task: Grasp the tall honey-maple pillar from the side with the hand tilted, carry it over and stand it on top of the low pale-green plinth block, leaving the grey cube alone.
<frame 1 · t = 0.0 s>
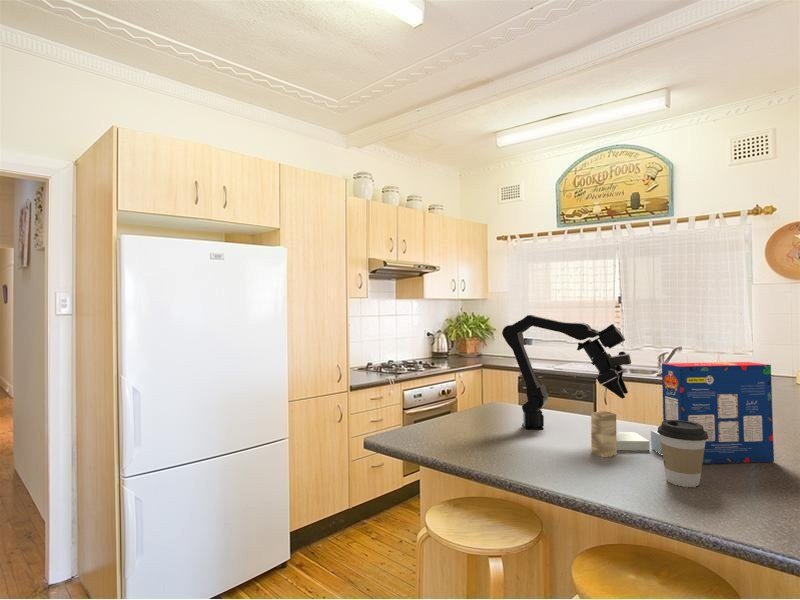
hand: (625, 395, 157), 15 cm above the countertop, tool tilted 35°, fingers open, 9 cm apart
coffee cup: (682, 483, 120), on the countertop
grey cube: (666, 452, 144), on the countertop
pillar: (603, 454, 143), on the countertop
pasta box: (718, 459, 138), on the countertop
plinth: (626, 447, 151), on the countertop
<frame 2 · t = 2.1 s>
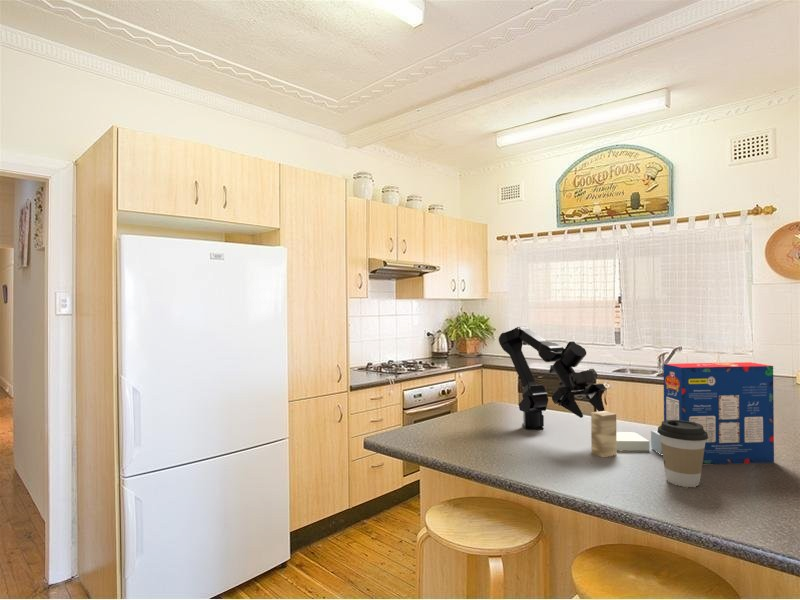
hand: (593, 415, 147), 11 cm above the countertop, tool tilted 45°, fingers open, 9 cm apart
nothing on the countertop moved.
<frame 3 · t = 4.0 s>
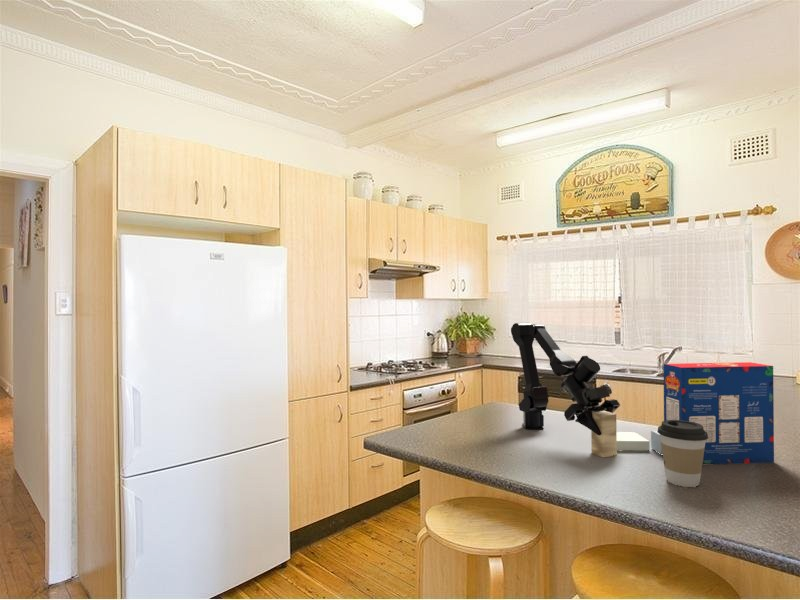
hand: (607, 433, 142), 7 cm above the countertop, tool tilted 45°, fingers closed on pillar, 5 cm apart
pillar: (603, 454, 143), on the countertop, touching gripper
everything else where it was.
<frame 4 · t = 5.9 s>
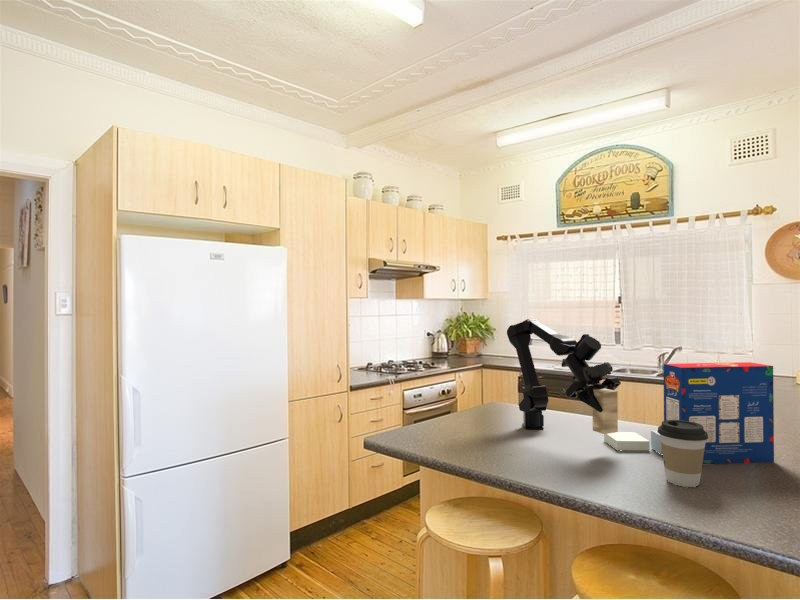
hand: (608, 410, 142), 14 cm above the countertop, tool tilted 45°, fingers closed on pillar, 5 cm apart
pillar: (605, 431, 143), point 7 cm above the countertop, touching gripper
everything else where it was.
when the fingers open (11 cm above the countertop, at t = 7.8 s): pillar drops 1 cm, point 3 cm above the countertop.
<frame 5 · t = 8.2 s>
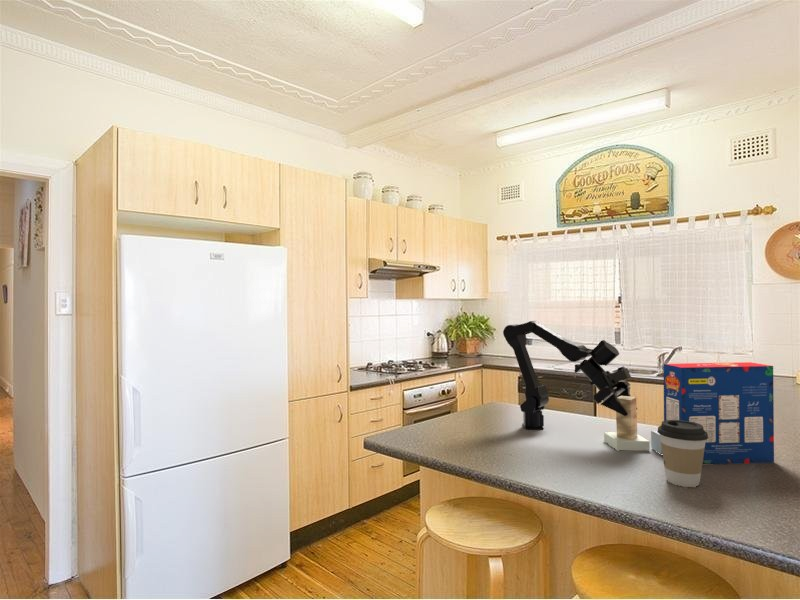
hand: (631, 412, 149), 11 cm above the countertop, tool tilted 45°, fingers open, 9 cm apart
pillar: (627, 436, 150), point 3 cm above the countertop
everything else where it was.
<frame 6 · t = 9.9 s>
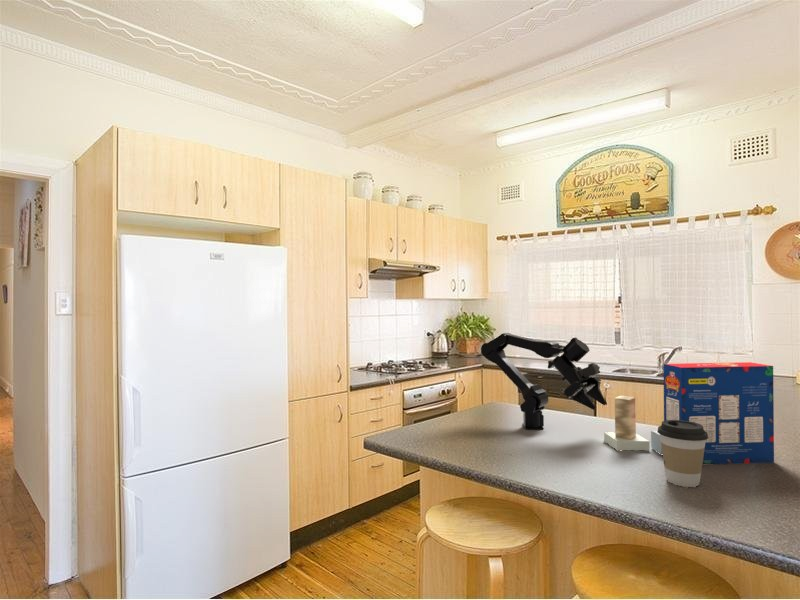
hand: (600, 406, 156), 11 cm above the countertop, tool tilted 45°, fingers open, 9 cm apart
nothing on the countertop moved.
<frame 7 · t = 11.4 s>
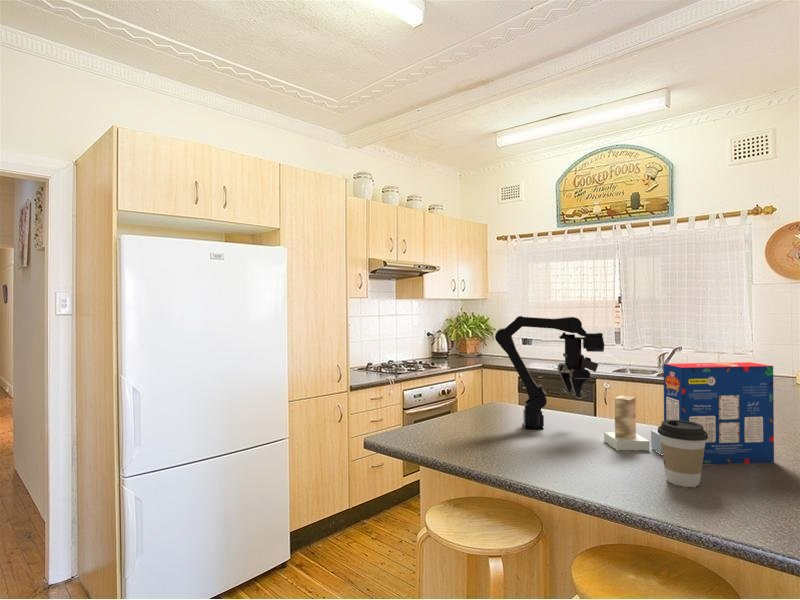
hand: (573, 394, 170), 13 cm above the countertop, tool pointing down, fingers open, 9 cm apart
pillar: (625, 436, 151), point 3 cm above the countertop, touching plinth
plinth: (626, 447, 151), on the countertop, touching pillar
everything else where it was.
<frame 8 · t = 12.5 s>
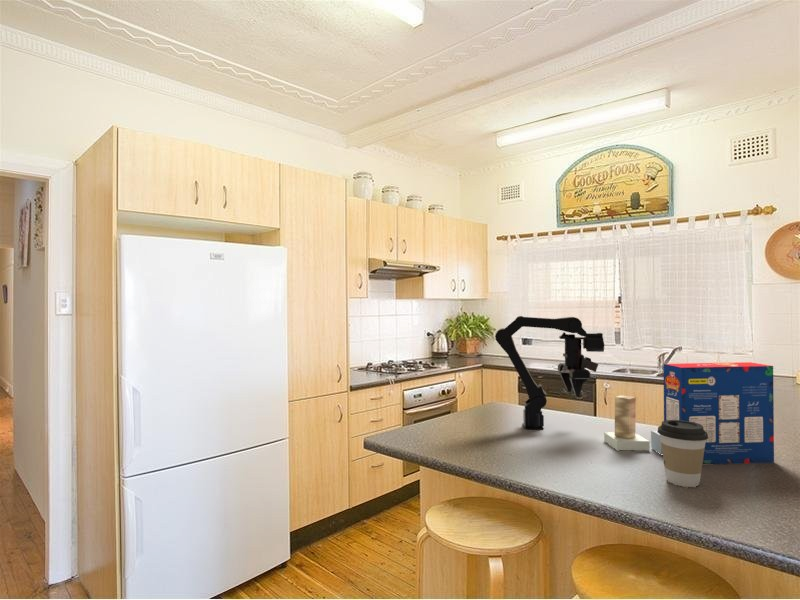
hand: (573, 394, 170), 13 cm above the countertop, tool pointing down, fingers open, 9 cm apart
nothing on the countertop moved.
at the end: pillar inside the target area on the plinth (0.3 cm from its centre), point 3.7 cm above the plinth's base; pillar tilted 3°; the gripper is holding nothing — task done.
